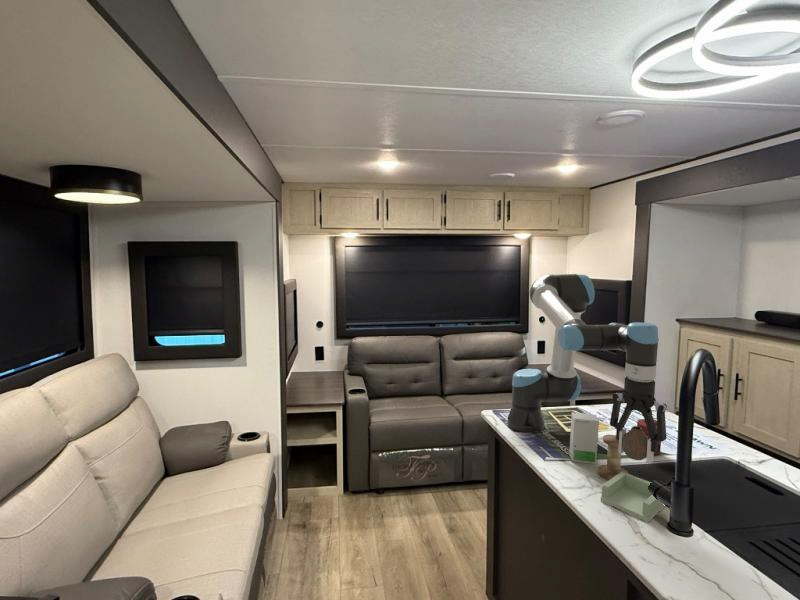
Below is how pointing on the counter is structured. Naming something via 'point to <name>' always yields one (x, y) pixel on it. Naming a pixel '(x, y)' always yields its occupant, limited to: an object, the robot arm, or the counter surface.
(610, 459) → the bobbin
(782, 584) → the counter surface
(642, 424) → the mechanical component
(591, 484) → the counter surface
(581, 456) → the skincare box
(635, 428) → the vase
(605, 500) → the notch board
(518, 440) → the counter surface
